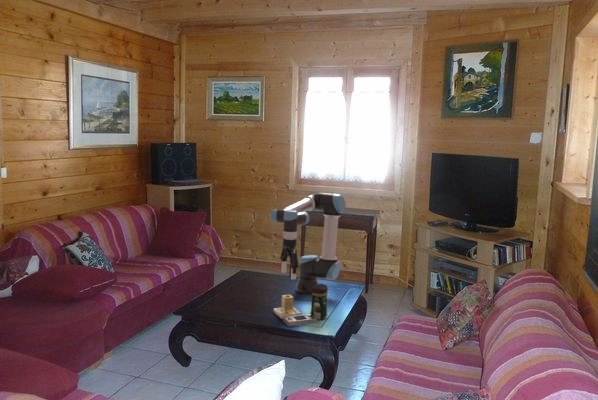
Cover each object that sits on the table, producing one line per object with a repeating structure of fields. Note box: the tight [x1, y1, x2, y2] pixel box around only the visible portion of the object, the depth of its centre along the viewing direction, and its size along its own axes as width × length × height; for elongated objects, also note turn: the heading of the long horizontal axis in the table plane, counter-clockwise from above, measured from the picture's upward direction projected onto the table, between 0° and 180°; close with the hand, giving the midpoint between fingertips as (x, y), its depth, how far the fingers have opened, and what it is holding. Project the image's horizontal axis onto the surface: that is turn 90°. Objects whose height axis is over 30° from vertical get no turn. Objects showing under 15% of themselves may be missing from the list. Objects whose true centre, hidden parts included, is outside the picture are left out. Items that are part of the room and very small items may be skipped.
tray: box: [273, 306, 302, 320], centre depth 290 cm, size 12×12×2 cm
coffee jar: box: [310, 283, 328, 321], centre depth 286 cm, size 10×8×19 cm
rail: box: [282, 313, 317, 327], centre depth 279 cm, size 16×8×2 cm, turn 114°
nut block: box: [280, 294, 294, 314], centre depth 289 cm, size 5×5×10 cm
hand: (288, 275), depth 288 cm, fingers open, 13 cm apart
